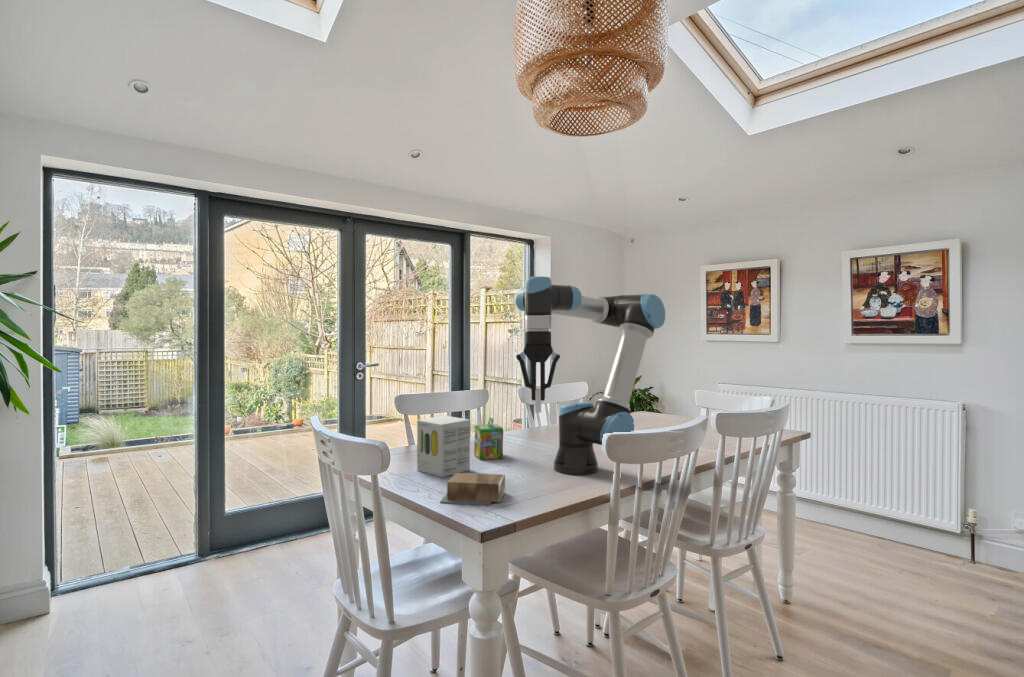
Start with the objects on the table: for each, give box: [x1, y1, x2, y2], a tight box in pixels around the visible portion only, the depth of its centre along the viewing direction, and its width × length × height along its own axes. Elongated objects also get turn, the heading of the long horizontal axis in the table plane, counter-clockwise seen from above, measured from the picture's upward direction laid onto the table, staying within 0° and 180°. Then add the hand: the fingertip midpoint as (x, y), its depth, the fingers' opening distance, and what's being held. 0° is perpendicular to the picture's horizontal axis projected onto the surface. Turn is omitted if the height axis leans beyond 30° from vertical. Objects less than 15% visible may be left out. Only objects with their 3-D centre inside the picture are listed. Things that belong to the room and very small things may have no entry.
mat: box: [439, 493, 492, 506], centre depth 159 cm, size 14×16×1 cm
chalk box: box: [473, 417, 504, 461], centre depth 205 cm, size 9×9×15 cm
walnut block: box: [446, 472, 506, 503], centre depth 157 cm, size 5×10×15 cm
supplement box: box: [416, 415, 471, 478], centre depth 186 cm, size 13×13×18 cm
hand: (538, 411), depth 158 cm, fingers closed
